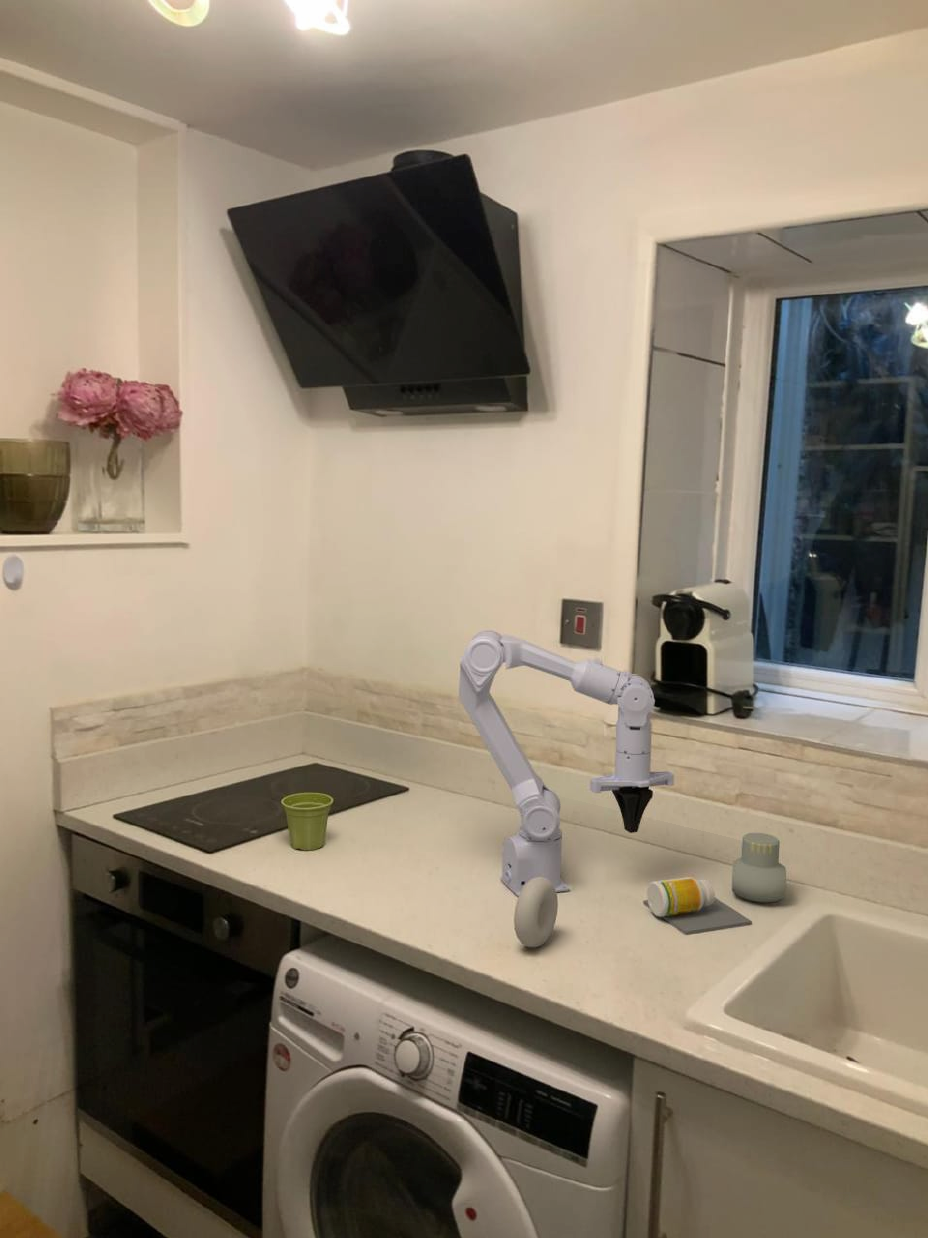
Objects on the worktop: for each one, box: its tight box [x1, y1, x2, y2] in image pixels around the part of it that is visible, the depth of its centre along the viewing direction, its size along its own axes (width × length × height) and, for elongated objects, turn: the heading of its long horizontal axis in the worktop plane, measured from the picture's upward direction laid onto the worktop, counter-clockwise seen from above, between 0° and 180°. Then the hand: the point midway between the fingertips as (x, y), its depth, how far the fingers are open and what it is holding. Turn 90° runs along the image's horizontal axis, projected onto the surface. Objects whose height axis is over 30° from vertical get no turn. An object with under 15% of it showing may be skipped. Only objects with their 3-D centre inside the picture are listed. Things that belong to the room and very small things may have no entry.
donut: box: [513, 877, 559, 948], centre depth 141 cm, size 10×4×10 cm, turn 149°
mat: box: [642, 897, 753, 936], centre depth 153 cm, size 12×12×1 cm
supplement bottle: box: [646, 876, 716, 918], centre depth 152 cm, size 5×5×10 cm
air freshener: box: [731, 832, 787, 904], centre depth 161 cm, size 11×8×10 cm
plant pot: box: [281, 792, 334, 852], centre depth 179 cm, size 9×9×9 cm
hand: (631, 830), depth 160 cm, fingers closed
